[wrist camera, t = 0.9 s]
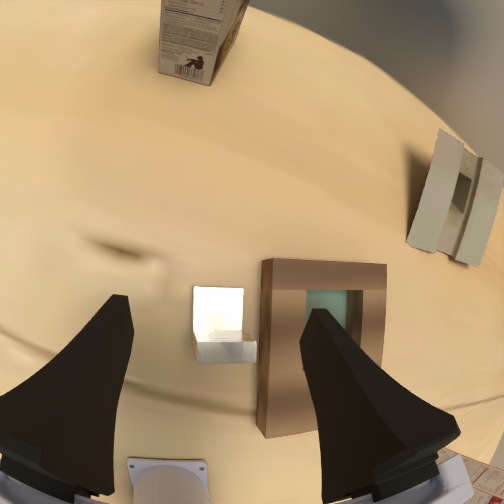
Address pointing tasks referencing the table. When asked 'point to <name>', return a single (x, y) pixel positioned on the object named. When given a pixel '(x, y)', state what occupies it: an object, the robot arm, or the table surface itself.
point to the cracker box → (480, 479)
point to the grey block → (220, 327)
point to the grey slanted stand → (457, 203)
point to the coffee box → (197, 36)
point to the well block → (294, 321)
